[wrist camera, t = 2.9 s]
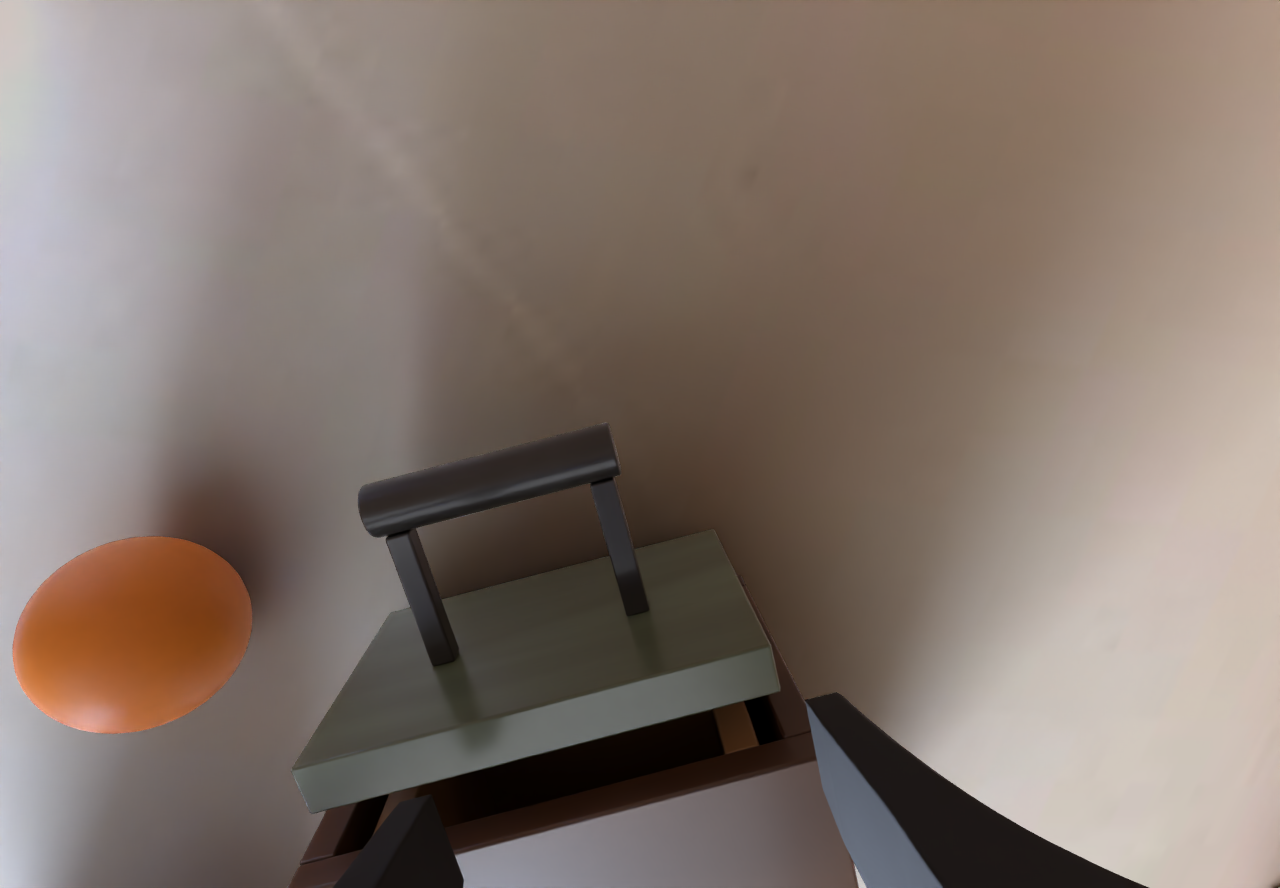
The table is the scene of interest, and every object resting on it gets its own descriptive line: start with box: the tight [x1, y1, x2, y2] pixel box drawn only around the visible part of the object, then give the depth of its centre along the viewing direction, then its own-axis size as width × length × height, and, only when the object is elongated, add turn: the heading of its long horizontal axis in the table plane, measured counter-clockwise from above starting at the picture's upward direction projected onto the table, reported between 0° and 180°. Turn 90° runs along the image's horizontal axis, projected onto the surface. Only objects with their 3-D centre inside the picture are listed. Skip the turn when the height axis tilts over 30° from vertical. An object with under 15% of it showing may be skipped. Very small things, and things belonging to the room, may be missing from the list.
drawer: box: [291, 423, 780, 836], centre depth 18 cm, size 17×10×7 cm, turn 14°
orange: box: [13, 536, 252, 734], centre depth 18 cm, size 5×5×5 cm
